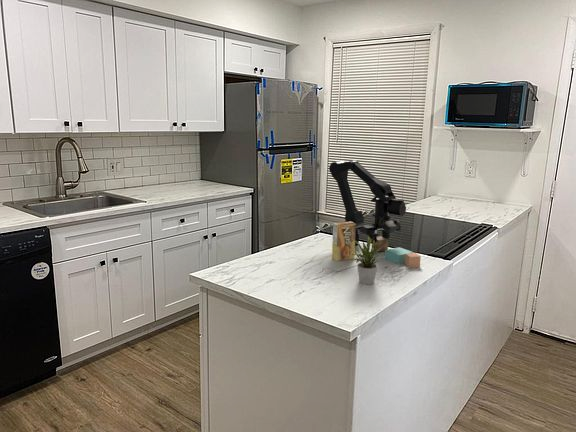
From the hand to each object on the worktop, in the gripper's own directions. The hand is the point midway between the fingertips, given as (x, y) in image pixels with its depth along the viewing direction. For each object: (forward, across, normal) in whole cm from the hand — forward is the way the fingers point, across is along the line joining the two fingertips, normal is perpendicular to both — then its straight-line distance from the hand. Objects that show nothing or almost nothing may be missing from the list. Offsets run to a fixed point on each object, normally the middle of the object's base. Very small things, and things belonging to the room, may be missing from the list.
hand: (379, 246), depth 196 cm
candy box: (+2, -21, -3) cm, 21 cm away
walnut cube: (+1, 0, 0) cm, 1 cm away
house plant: (+2, -28, -27) cm, 40 cm away
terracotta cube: (+2, -1, -22) cm, 22 cm away
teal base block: (+2, -1, -14) cm, 14 cm away
